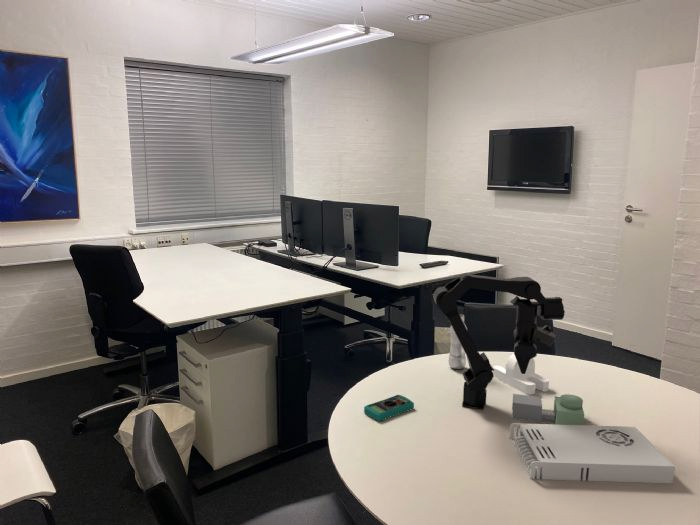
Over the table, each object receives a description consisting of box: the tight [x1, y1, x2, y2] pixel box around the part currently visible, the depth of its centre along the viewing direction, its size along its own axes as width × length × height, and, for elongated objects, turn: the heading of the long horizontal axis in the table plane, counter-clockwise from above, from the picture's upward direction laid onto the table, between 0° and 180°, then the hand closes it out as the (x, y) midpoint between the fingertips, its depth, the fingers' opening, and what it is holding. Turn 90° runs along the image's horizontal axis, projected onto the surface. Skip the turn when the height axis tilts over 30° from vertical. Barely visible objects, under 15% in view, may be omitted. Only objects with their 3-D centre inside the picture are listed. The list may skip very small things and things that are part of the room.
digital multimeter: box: [363, 394, 415, 422], centre depth 155 cm, size 7×15×3 cm, turn 127°
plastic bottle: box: [447, 313, 468, 370], centre depth 188 cm, size 6×7×20 cm
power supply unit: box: [509, 422, 676, 484], centre depth 129 cm, size 19×33×5 cm, turn 87°
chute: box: [511, 393, 543, 423], centre depth 152 cm, size 8×6×5 cm
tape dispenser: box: [492, 352, 550, 396], centre depth 176 cm, size 10×18×11 cm, turn 25°
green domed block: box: [541, 393, 585, 425], centre depth 150 cm, size 18×10×7 cm, turn 73°
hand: (522, 368), depth 158 cm, fingers open, 9 cm apart
